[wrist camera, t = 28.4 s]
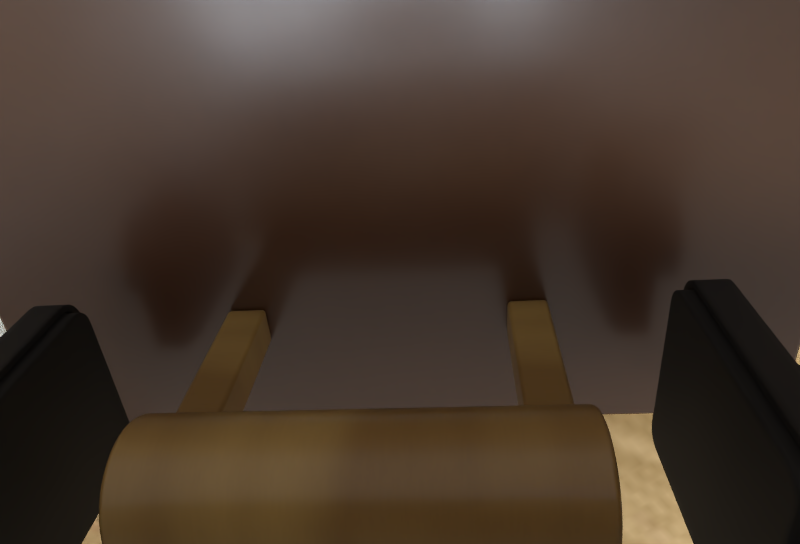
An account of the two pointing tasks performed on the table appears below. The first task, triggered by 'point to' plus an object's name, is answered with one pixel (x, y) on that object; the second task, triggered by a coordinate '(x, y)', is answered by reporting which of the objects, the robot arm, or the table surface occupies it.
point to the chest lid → (390, 244)
